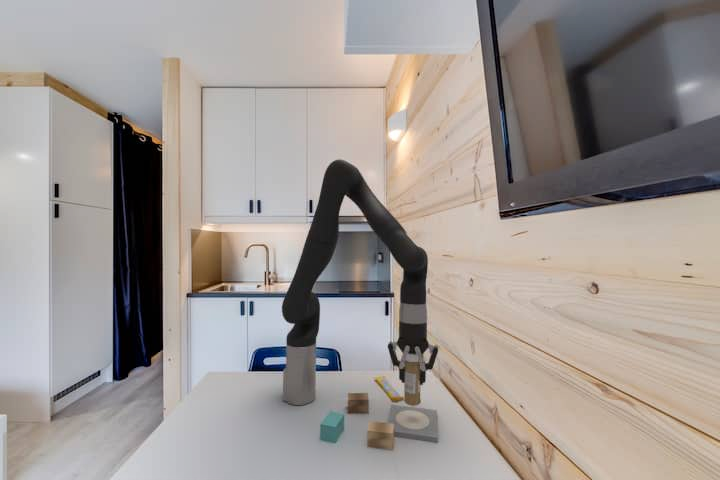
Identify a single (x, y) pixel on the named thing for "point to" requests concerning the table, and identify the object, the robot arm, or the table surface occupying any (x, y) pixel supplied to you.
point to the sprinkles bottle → (412, 380)
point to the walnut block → (358, 403)
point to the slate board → (414, 423)
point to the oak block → (380, 435)
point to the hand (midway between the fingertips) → (412, 382)
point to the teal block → (332, 427)
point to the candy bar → (388, 389)
